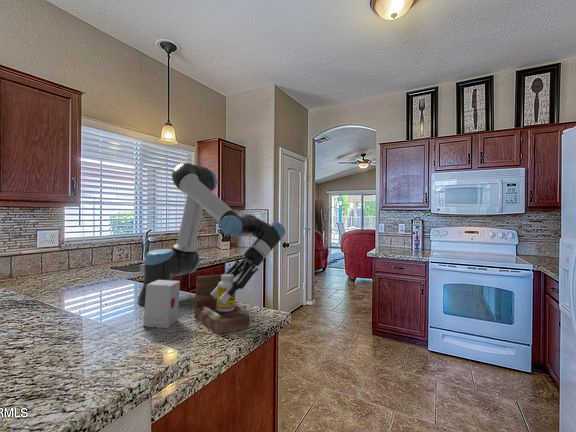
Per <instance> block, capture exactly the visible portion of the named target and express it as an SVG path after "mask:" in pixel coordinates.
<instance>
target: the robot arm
mask: <svg viewBox="0 0 576 432" xmlns="http://www.w3.org/2000/svg"><path fill="white" fill-rule="evenodd" d="M171 179H172V183H173V184H174V185H175V186H176V187H177V189H178V190H180V192H182V193H183V194H186V198H185V199H186V200H185V205H184V208H183V209H184V210H183V214H182V218H181V224H180V228H179V233H178V238H177V242H176V243H175V244H174V245H173V246H172V249H171V248H161V249H159V248H158V249H153V250H152V249H151V250H149V251H148V252H147V253H145V257H144V258H145V259H144V269H143V270H144V271H143V283H142V287H141V289H140V292H139V294H138V296H137V297H138V298H137V304H138V305H140V306H142V307H143V306H144V307H145V297H146V285H147V284H149V283H151V282H154V281H157V280H170V281H173V280H172V279H173V277H175V276H181V275H183V276H184V275H188V274H191V273H193V272H195V271H197V269H198V268H199V265H200V263H201V258H200V254H199V252H198V248H197V247H196V244H197V237H198V234H199V229H200V225H201V220H202V216H203V212H204V211H203V210H205V211H206V212H207V213H208V215H210V216H211V217H212V218H213V219H214V220H215V221H216V222H217V223H219V229H220V230H221V232H222V234H224V235H225V236H253V237H255V238H256V240H255V241H254V242H253V243H252V244H251V245H250V247H249V248H247V250H246V251H245V252H244V254H243V255H244V258H243V259H241V260H239V259H237V260H235V261H234V263H233V264H232V265H231V266H230V267H229V268H228V269H227V270H226V271H225V273H224V274H232V275H234V279H235V278H236V277H237V278H236V279H235V281H233V282H234V283H232V284H233V285H234V286H233V285H232V284H231V285H230V287H229V288H228V289H227V290H226V291H225V292H224V293H223V295H222V296H221V297H220V298H219V299H220V300H221V301H222V302H223V303H224V304H225V303H226V302H227V300H228V299H229V298H230V297H231V296H232V295H233V293H234V292H235V291H237V290H239V289H240V290H243V289H244V288H245V286H246V285H247V284H248V282H249V281H250V280H251V278H252V277H253V276H254V274H255V273H256V272H258V271H259V268H258V266H260V265H261V264H262V262H263V261H264V259H266V258H267V256H269V254H270V253H271V252H272V250H273V249H274V248H275V247H276V246H277V244H278V243H279V242H280V241H282V239H283V237H284V236H285V235H286V228H285V227H284V226H283V225H282V223H280V222H279V221H275V220H274V221H272V222H271V223H270V224H269V223H268V222H265V221H263V220H262V219H259V218H258V217H256V216H255V215H252V214H250V213H246V214H244V215H241V216H240V215H239V214H238V213H236V211H234V210H233V209H232V208H231V207H230V206H229V205H228V204H226V202H224V201H223V200H222V199H221V198H220V197H219V196H217V194H215V193H214V192H213V191H215V190H216V188H217V185H218V178H217V175H216V173H215V172H214V171H213V169H210V168H208V167H204V166H200V165H196V164H192V163H189V162H182V163H180V164H178V165H176V166H175V167H174V169H173V170H172V173H171ZM217 291H218V286H217V287H216V288H215V289H214V290H213V291H212V293H211V295H212V296H213V297H214V298H215V299H216V298H217ZM235 293H236V292H235Z"/></svg>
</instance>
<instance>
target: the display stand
mask: <svg viewBox="0 0 576 432" xmlns="http://www.w3.org/2000/svg"><path fill="white" fill-rule="evenodd" d="M221 275H222V274H214V275H213V274H212V275H201V276H200V275H199V276H198V275H197V276H196V284H195V285H196V288H195V301H194V302H195V303H194V316H193V318H194V319H196V320H198V322H200V323H201V324H202V325H204V326H205V327H206V328H208V329H209V330H210V331H211V332H212V333H215V334H216V335H219V334H223V333H227V332H232V331H233V332H234V331H237V330H241V329H247V328H250V320H251V318H250V315H249V310H248V309H247V308H246V309H245V308H244V307H242V306H241V305H238V304H236V303H235V307H234V310H232V311H229V312H222V311H218V310H217V308H216V306H217V298H216V299H215V298H214V297H213V296H212V295H211V293H212V291H213V290H214V289H215V288H216V287H217V286H218V283H219V282H220V281H221V280H222V279H221Z"/></svg>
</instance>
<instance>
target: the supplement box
mask: <svg viewBox="0 0 576 432" xmlns="http://www.w3.org/2000/svg"><path fill="white" fill-rule="evenodd" d="M180 286H181V281H180V280H172V281H170V280H157V281H154V282H151V283H149V284H147V285H146V297H145V306H144V312H143V326H146V327H145V328H154V327H156V328H157V329H169V328H170V327H172V325H174V324H176V322H177V321H178V318H179V317H178V316H179V305H180V304H179V303H180V291H181V290H180ZM143 326H142V327H143ZM156 328H155V329H156Z"/></svg>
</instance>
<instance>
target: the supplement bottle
mask: <svg viewBox="0 0 576 432" xmlns="http://www.w3.org/2000/svg"><path fill="white" fill-rule="evenodd" d="M220 275H221V279H222V280H221V281H220V282H219V283H218V291H217V306H216V308H217V310H218V311H222V312H229V311H232V310H234V307H235V304H236V291H237V290H236V291H235V292H234V293H233V295H232V296H231V297H230V298H229V299H228V300H227V302H226V303H225V304H224V303H223V302H222V301H221V300H220V299H219V298H220V297H221V296H222V295H223V293H224V292H225V291H226V290H227V289H228V288H229V287H230V285H231V284H232V283H234V282H235V281H234V279H235V278H234V275H232V274H225V273H223V274H220ZM232 285H233V284H232ZM233 286H234V285H233Z"/></svg>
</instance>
